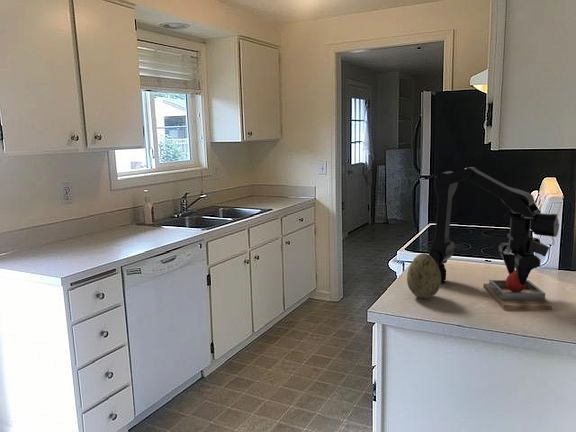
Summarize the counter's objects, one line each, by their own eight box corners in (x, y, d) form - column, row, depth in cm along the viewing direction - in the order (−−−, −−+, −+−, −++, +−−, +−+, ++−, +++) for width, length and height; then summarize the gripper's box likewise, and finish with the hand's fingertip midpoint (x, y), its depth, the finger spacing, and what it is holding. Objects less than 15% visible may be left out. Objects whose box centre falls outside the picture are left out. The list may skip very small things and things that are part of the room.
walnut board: (503, 309, 142) (503, 305, 142) (483, 287, 162) (483, 283, 162) (552, 310, 141) (552, 305, 141) (525, 287, 160) (525, 283, 160)
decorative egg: (401, 299, 153) (402, 255, 150) (413, 289, 162) (414, 247, 159) (434, 306, 147) (435, 259, 144) (444, 295, 156) (446, 251, 153)
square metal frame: (502, 300, 146) (502, 293, 145) (489, 287, 158) (489, 280, 157) (544, 301, 144) (545, 293, 144) (528, 287, 157) (528, 280, 156)
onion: (508, 289, 155) (509, 266, 154) (527, 292, 151) (528, 268, 150) (503, 294, 151) (503, 271, 149) (522, 298, 147) (523, 273, 145)
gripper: (560, 239, 137) (556, 290, 140) (534, 226, 155) (531, 271, 158) (521, 239, 138) (517, 289, 141) (499, 226, 157) (496, 271, 160)
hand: (516, 279), depth 150 cm, fingers open, 9 cm apart
